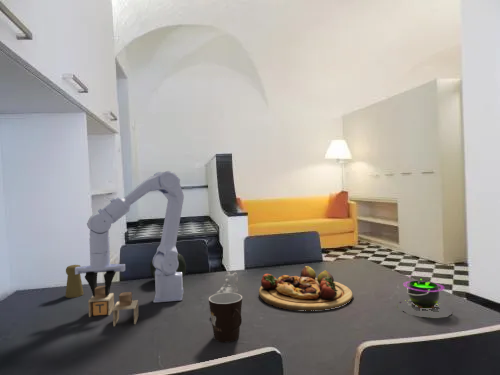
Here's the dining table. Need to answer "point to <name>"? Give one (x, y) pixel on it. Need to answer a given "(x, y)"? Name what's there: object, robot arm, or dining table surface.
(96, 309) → the orange cube
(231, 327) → the coffee mug
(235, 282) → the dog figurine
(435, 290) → the toy cauldron
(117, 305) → the cover
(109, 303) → the cover
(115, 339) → the dining table surface
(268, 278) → the wooden plate with food
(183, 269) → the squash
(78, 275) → the cork
